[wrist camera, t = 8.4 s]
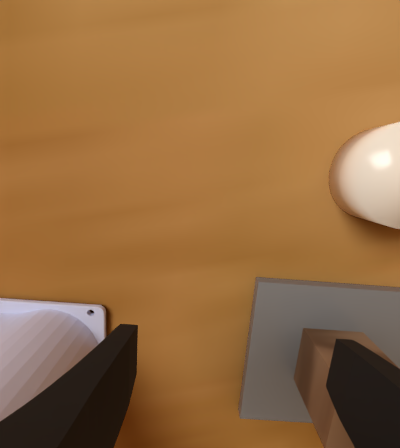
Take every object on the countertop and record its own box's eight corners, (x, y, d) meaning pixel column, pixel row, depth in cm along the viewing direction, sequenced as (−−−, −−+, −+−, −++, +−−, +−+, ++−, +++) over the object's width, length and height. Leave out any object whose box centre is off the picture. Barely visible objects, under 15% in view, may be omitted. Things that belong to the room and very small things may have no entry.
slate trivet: (238, 409, 21) (239, 418, 20) (256, 277, 18) (258, 281, 18) (378, 417, 21) (385, 427, 20) (415, 288, 19) (424, 293, 18)
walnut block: (293, 379, 19) (325, 449, 14) (303, 327, 18) (340, 385, 14) (350, 382, 19) (400, 454, 15) (362, 332, 18) (421, 390, 14)
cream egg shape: (320, 214, 18) (350, 225, 14) (337, 124, 16) (373, 112, 13) (404, 220, 18) (453, 233, 14) (427, 132, 16) (486, 121, 13)
